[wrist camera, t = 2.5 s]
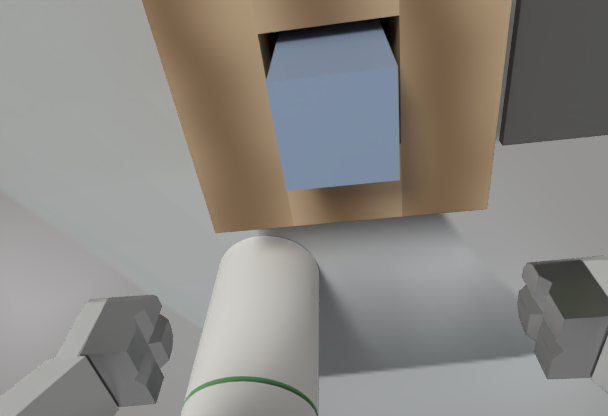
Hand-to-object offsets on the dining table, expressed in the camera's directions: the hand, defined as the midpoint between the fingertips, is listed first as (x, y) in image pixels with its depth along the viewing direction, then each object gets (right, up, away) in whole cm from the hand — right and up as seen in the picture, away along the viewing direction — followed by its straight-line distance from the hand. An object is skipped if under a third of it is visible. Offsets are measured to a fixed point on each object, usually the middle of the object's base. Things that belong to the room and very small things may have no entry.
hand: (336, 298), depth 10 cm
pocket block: (+1, +10, +13) cm, 17 cm away
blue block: (+1, +10, +13) cm, 17 cm away
